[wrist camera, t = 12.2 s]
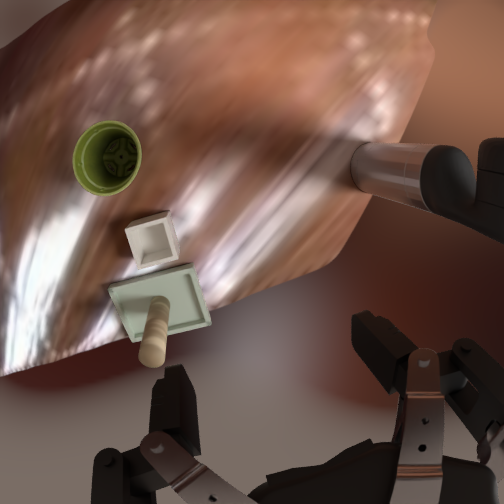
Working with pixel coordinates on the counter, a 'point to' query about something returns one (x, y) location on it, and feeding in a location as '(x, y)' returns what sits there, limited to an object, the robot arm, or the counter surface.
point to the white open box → (153, 240)
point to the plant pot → (106, 158)
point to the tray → (170, 286)
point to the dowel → (155, 333)
